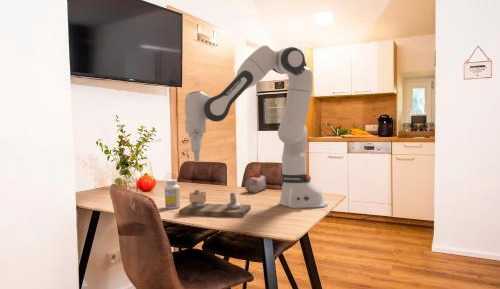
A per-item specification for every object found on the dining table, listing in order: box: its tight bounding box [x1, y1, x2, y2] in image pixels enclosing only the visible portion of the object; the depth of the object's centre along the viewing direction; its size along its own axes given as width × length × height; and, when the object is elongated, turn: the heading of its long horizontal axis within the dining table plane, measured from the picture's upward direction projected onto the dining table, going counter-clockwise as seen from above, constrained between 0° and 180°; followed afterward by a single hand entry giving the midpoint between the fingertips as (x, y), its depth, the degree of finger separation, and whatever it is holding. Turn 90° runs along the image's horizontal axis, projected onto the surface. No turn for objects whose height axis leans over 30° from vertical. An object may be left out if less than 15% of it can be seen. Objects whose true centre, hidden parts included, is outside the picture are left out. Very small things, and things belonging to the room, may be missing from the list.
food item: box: [245, 173, 267, 194], centre depth 203 cm, size 14×8×10 cm, turn 155°
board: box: [178, 189, 252, 218], centre depth 156 cm, size 28×14×10 cm, turn 77°
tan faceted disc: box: [188, 191, 207, 203], centre depth 157 cm, size 7×7×3 cm
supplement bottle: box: [164, 178, 181, 210], centre depth 167 cm, size 7×7×13 cm
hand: (196, 160), depth 156 cm, fingers open, 8 cm apart
